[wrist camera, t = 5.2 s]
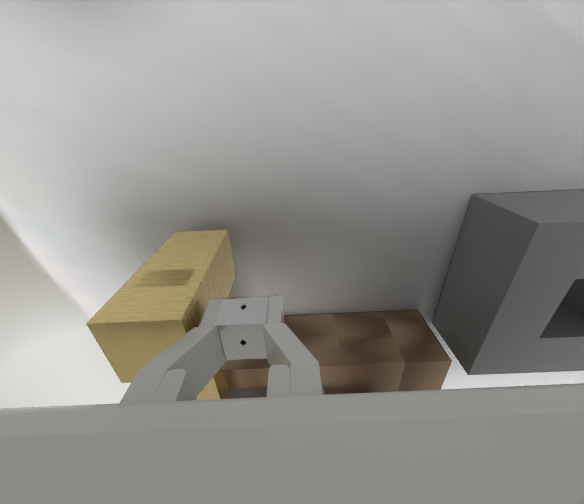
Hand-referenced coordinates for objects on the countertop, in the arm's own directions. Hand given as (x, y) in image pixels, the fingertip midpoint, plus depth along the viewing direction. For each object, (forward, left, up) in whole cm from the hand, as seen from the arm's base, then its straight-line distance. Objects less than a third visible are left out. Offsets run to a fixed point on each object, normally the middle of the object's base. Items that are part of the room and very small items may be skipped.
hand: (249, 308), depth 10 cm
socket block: (-4, +13, -7) cm, 16 cm away
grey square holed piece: (-19, +3, -7) cm, 21 cm away
